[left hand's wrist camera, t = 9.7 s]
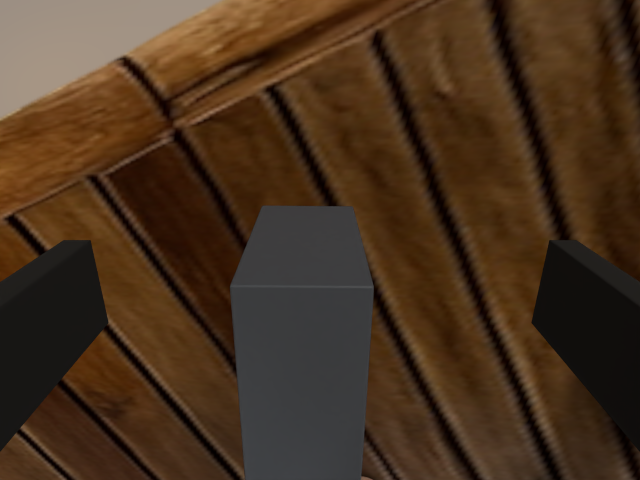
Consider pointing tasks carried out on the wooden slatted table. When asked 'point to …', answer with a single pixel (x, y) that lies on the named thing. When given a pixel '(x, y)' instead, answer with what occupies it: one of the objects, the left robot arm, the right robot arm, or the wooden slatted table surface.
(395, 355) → the wooden slatted table surface
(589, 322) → the left robot arm
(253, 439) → the bar
